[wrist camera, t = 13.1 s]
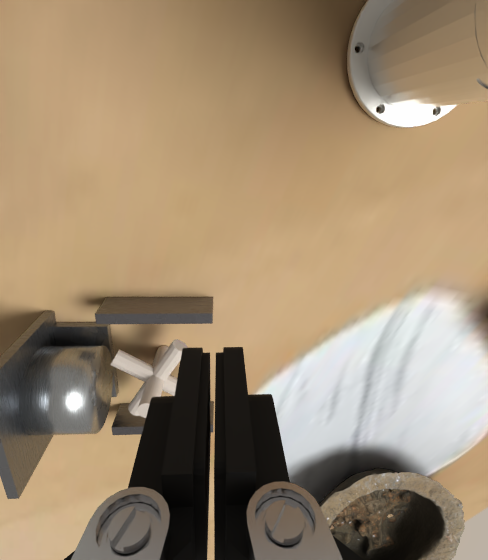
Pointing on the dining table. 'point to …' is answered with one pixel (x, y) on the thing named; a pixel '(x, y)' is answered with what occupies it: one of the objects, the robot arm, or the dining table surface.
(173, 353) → the pipe connector
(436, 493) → the stone bowl
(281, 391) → the dining table surface
